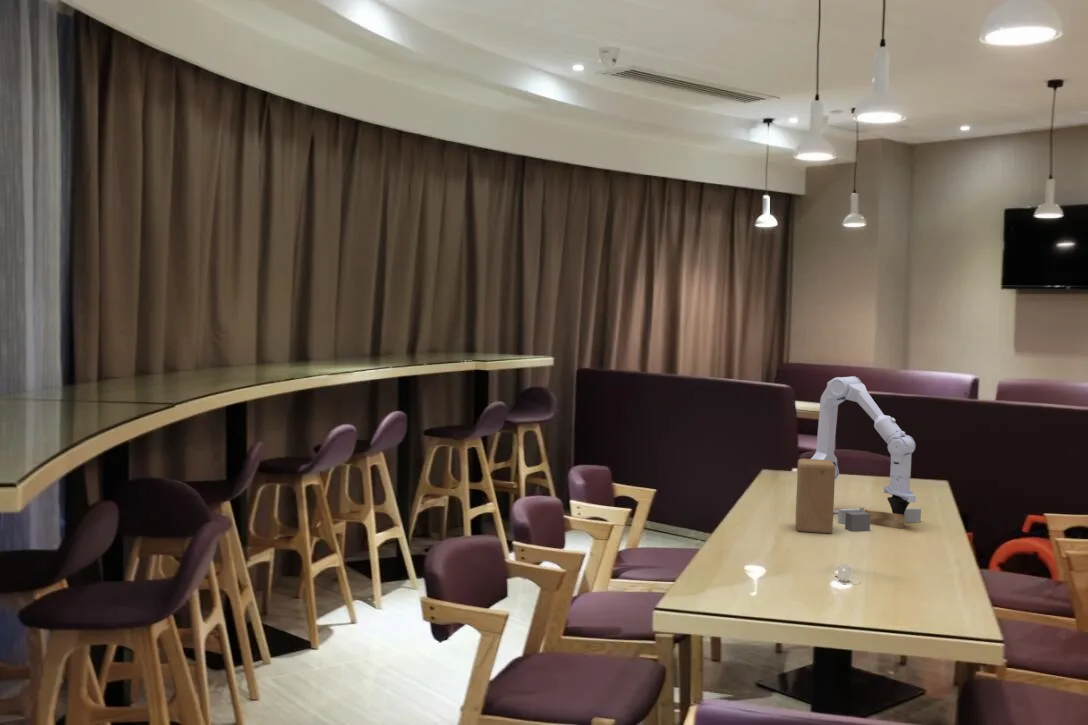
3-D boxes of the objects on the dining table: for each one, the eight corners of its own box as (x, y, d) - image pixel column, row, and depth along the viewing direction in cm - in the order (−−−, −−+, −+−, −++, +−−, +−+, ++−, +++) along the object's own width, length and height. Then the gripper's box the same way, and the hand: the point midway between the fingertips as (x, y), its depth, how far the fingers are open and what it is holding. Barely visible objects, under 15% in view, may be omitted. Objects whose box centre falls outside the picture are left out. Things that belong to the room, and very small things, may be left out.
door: (863, 523, 302) (863, 510, 302) (865, 522, 304) (865, 509, 303) (902, 529, 296) (903, 515, 296) (904, 528, 297) (904, 514, 297)
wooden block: (832, 534, 287) (835, 465, 286) (796, 532, 289) (799, 463, 288) (829, 526, 297) (832, 459, 296) (795, 524, 299) (797, 457, 298)
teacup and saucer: (835, 575, 246) (836, 558, 246) (867, 581, 241) (868, 564, 240) (820, 582, 239) (821, 565, 239) (852, 589, 234) (853, 572, 234)
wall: (841, 523, 302) (841, 509, 301) (838, 522, 304) (838, 507, 303) (920, 522, 306) (921, 507, 306) (916, 520, 308) (917, 506, 308)
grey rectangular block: (851, 531, 291) (852, 514, 291) (844, 529, 295) (845, 512, 294) (869, 531, 293) (870, 514, 293) (862, 528, 296) (863, 511, 296)
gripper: (925, 480, 293) (923, 526, 294) (899, 471, 307) (897, 515, 308) (903, 481, 292) (901, 527, 292) (878, 472, 306) (876, 516, 307)
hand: (897, 521), depth 300 cm, fingers closed
